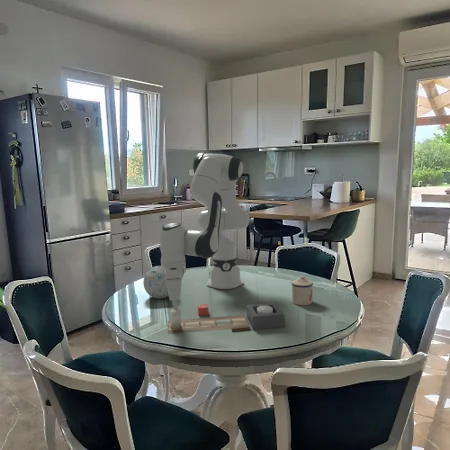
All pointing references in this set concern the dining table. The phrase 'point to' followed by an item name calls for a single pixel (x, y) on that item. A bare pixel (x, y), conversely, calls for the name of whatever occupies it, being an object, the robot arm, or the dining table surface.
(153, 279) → the puzzle ball
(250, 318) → the dome housing
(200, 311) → the die
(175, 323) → the pawn
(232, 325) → the board
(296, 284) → the teacup with lid
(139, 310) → the dining table surface
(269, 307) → the push dome
